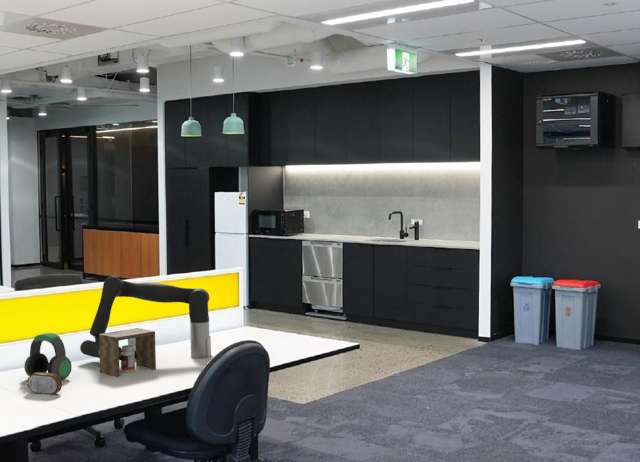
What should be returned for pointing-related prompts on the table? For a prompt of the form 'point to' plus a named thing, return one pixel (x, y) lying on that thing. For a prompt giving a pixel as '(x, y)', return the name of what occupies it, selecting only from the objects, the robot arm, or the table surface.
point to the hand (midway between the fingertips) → (130, 357)
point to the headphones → (40, 362)
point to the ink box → (132, 343)
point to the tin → (44, 383)
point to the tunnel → (111, 349)
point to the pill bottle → (128, 359)
